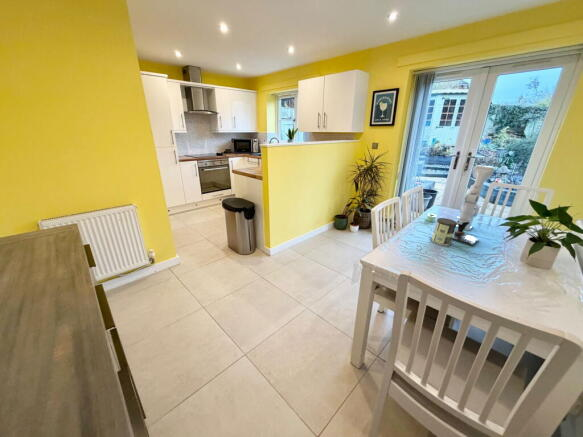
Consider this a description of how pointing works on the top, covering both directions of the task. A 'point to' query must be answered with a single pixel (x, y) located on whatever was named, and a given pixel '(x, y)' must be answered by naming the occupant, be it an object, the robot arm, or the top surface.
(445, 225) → the coffee can
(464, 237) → the scale pan
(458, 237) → the scale
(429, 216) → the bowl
